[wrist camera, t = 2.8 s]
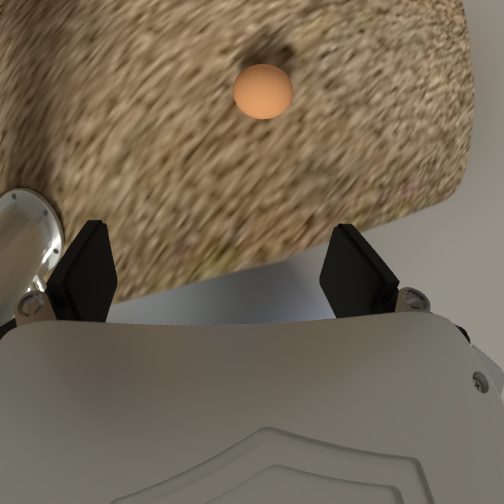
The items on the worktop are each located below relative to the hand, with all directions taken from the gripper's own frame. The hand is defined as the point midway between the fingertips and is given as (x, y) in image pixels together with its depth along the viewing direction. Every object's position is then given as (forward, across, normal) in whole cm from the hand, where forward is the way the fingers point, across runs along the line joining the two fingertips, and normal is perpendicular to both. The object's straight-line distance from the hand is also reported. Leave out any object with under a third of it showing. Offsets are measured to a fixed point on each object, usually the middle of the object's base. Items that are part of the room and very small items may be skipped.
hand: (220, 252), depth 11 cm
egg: (+18, -4, -6) cm, 19 cm away
